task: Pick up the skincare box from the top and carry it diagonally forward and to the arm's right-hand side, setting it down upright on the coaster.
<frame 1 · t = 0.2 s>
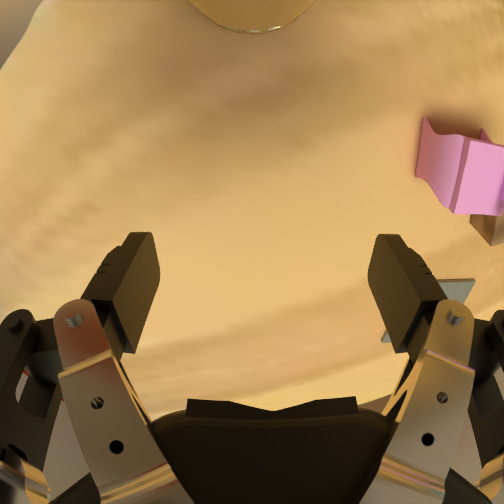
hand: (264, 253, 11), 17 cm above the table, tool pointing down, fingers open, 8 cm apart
coaster: (428, 310, 38), on the table
walnut block: (486, 201, 27), on the table
toy chair: (448, 150, 24), on the table
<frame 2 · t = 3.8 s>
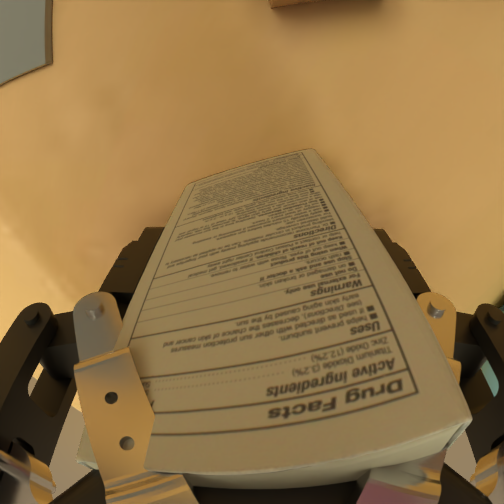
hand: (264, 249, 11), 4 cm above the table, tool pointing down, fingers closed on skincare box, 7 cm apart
skincare box: (263, 200, 14), on the table, touching gripper
when the fingers open (5 cm above the table, at t = 10.1 s): skincare box stays where it is, resting on coaster.
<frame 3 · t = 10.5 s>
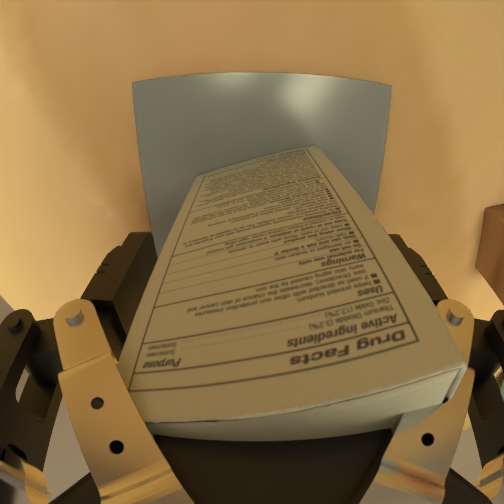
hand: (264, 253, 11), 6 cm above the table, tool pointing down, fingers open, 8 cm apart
coaster: (261, 190, 15), on the table
walnut block: (502, 231, 16), on the table
skincare box: (268, 193, 15), resting on coaster
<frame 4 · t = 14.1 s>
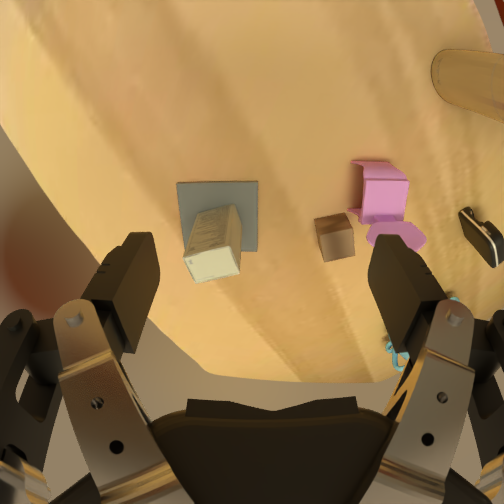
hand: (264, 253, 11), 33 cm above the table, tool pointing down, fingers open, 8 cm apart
coaster: (218, 217, 47), on the table
walnut block: (331, 228, 48), on the table
skincare box: (220, 218, 47), resting on coaster
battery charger: (467, 219, 46), on the table
toy chair: (367, 184, 44), on the table
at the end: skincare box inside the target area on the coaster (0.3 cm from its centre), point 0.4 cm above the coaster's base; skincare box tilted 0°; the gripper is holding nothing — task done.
